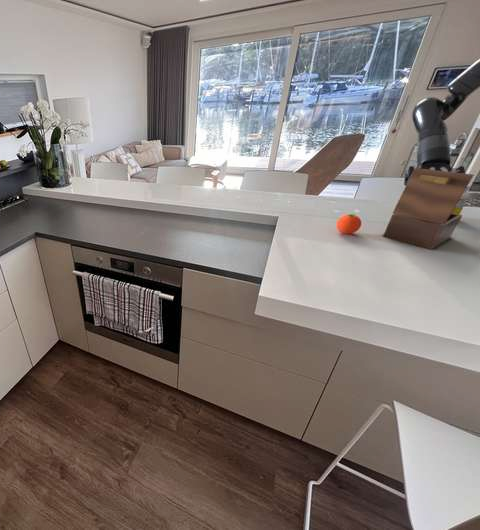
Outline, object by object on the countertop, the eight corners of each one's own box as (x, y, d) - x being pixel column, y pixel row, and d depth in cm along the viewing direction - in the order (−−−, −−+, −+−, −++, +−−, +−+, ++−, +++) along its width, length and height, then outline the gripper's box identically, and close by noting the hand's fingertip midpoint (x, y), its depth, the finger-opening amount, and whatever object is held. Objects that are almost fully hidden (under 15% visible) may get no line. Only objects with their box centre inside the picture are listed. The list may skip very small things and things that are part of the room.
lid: (415, 168, 89) (409, 167, 87) (474, 174, 79) (468, 174, 77) (393, 213, 95) (386, 214, 93) (444, 224, 85) (439, 225, 83)
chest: (402, 226, 104) (411, 205, 100) (450, 237, 94) (462, 215, 90) (383, 235, 99) (392, 214, 95) (431, 249, 89) (443, 226, 85)
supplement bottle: (429, 214, 111) (445, 181, 104) (453, 217, 107) (472, 182, 101) (432, 220, 106) (449, 186, 100) (457, 223, 102) (477, 187, 96)
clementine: (334, 226, 108) (340, 208, 104) (357, 230, 104) (364, 211, 101) (333, 235, 102) (339, 216, 99) (357, 238, 99) (364, 219, 95)
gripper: (412, 146, 95) (413, 190, 92) (470, 145, 90) (473, 191, 87) (399, 159, 102) (399, 201, 98) (452, 159, 97) (455, 202, 94)
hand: (434, 196), depth 93 cm, fingers open, 8 cm apart
